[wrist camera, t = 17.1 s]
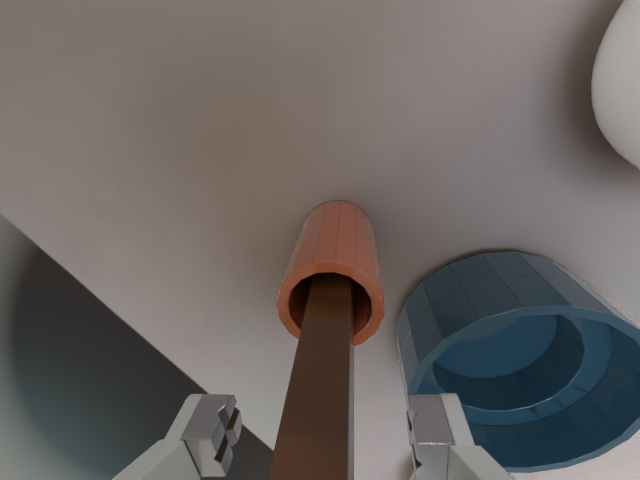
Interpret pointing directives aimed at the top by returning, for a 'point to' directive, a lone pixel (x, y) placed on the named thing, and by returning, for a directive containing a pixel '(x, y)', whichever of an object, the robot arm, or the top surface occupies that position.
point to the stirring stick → (320, 389)
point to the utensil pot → (334, 266)
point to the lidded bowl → (619, 82)
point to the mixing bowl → (524, 359)
